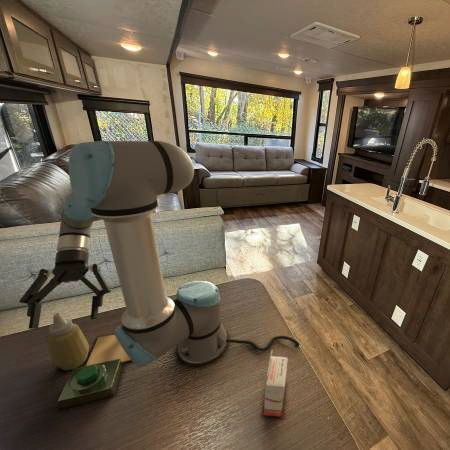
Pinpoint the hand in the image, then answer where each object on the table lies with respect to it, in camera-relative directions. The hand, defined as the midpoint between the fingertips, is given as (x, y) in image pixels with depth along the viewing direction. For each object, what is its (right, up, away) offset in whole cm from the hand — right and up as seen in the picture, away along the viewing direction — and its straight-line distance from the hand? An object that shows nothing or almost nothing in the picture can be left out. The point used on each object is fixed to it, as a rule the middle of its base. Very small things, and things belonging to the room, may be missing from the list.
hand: (64, 323), depth 70 cm
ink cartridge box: (+60, -20, -2) cm, 64 cm away
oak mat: (+9, -11, +8) cm, 16 cm away
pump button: (+12, -12, -5) cm, 18 cm away
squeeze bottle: (0, -13, +3) cm, 13 cm away
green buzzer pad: (+11, -16, -3) cm, 19 cm away
